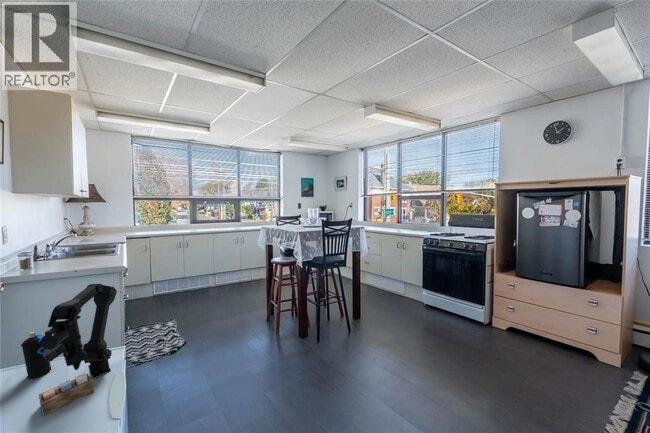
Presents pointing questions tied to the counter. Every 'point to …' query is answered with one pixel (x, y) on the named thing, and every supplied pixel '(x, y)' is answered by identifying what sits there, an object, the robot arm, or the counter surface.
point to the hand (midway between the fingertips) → (76, 369)
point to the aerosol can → (35, 357)
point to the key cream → (81, 379)
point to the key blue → (65, 386)
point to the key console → (66, 396)
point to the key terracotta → (48, 394)
